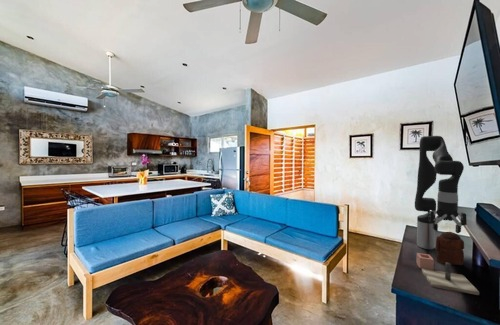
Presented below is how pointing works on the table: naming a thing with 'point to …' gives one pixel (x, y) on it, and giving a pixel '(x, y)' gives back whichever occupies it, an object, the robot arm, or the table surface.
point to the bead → (425, 261)
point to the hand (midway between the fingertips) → (446, 231)
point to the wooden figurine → (450, 248)
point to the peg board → (449, 280)
